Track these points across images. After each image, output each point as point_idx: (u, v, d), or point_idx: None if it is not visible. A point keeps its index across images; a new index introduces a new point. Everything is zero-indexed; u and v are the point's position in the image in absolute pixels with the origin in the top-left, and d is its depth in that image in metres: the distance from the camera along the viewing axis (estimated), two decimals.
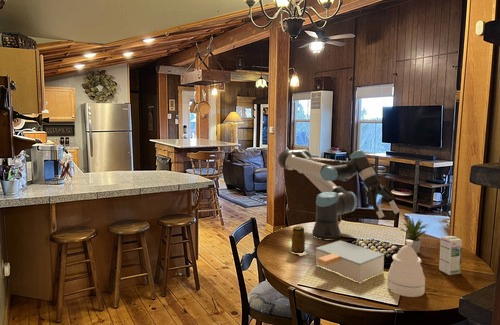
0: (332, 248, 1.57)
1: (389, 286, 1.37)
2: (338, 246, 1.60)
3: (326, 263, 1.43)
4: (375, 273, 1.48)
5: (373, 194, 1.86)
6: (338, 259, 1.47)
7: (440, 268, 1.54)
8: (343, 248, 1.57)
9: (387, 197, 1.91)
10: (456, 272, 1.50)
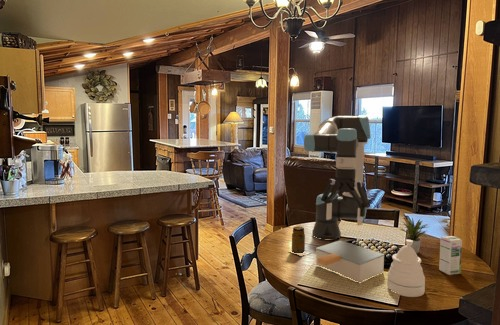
0: (332, 248, 1.57)
1: (389, 286, 1.37)
2: (338, 246, 1.60)
3: (326, 263, 1.43)
4: (375, 273, 1.48)
5: None
6: (338, 259, 1.47)
7: (440, 268, 1.54)
8: (343, 248, 1.57)
9: None
10: (456, 272, 1.50)
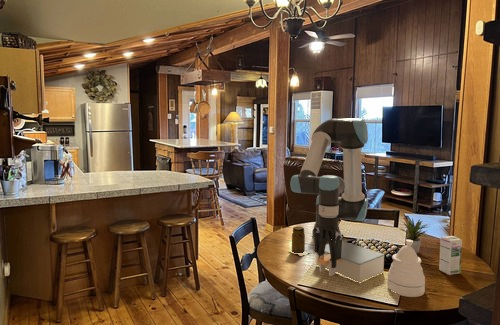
0: None
1: (389, 286, 1.37)
2: None
3: (326, 263, 1.43)
4: (375, 273, 1.48)
5: None
6: (338, 259, 1.47)
7: (440, 268, 1.54)
8: (343, 248, 1.57)
9: None
10: (456, 272, 1.50)
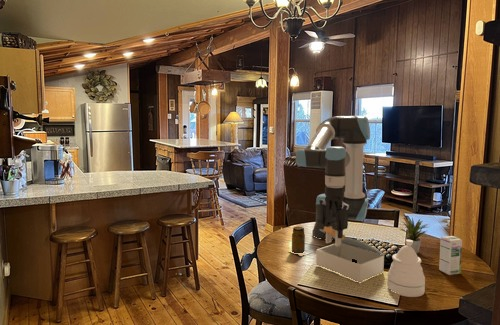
0: None
1: (389, 286, 1.37)
2: None
3: (332, 231, 1.43)
4: (375, 273, 1.48)
5: None
6: (342, 237, 1.47)
7: (440, 268, 1.54)
8: (345, 239, 1.58)
9: None
10: (456, 272, 1.50)
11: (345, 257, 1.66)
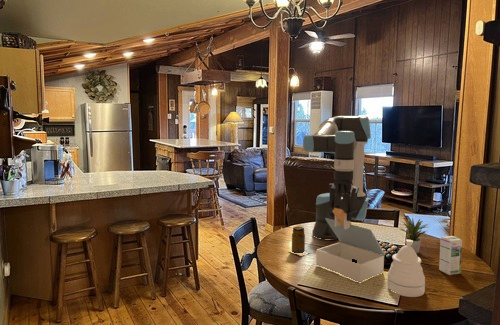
0: None
1: (389, 286, 1.37)
2: None
3: (341, 212, 1.46)
4: (375, 273, 1.48)
5: None
6: None
7: (440, 268, 1.54)
8: None
9: None
10: (456, 272, 1.50)
11: (345, 257, 1.66)
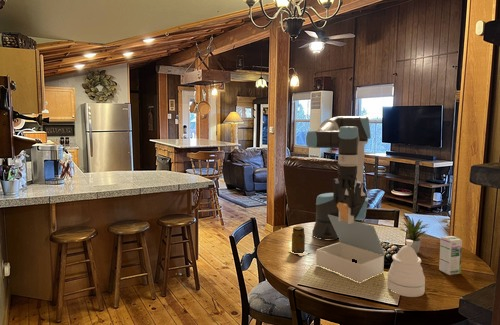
0: None
1: (389, 286, 1.37)
2: None
3: (346, 206, 1.47)
4: (375, 273, 1.48)
5: None
6: None
7: (440, 268, 1.54)
8: None
9: None
10: (456, 272, 1.50)
11: (345, 257, 1.66)
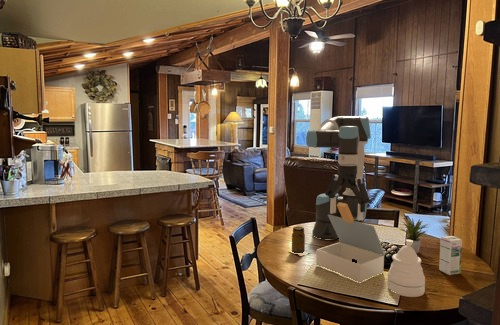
0: None
1: (389, 286, 1.37)
2: None
3: (346, 206, 1.47)
4: (375, 273, 1.48)
5: None
6: (351, 219, 1.50)
7: (440, 268, 1.54)
8: None
9: None
10: (456, 272, 1.50)
11: (345, 257, 1.66)
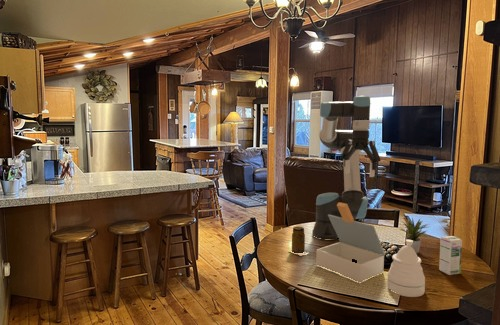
0: None
1: (389, 286, 1.37)
2: None
3: (346, 206, 1.47)
4: (375, 273, 1.48)
5: None
6: (351, 219, 1.50)
7: (440, 268, 1.54)
8: None
9: None
10: (456, 272, 1.50)
11: (345, 257, 1.66)
